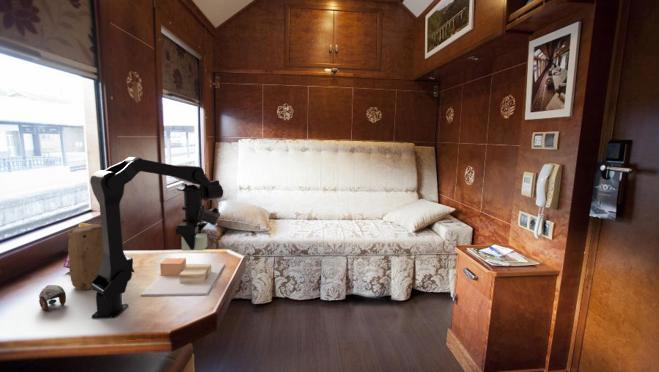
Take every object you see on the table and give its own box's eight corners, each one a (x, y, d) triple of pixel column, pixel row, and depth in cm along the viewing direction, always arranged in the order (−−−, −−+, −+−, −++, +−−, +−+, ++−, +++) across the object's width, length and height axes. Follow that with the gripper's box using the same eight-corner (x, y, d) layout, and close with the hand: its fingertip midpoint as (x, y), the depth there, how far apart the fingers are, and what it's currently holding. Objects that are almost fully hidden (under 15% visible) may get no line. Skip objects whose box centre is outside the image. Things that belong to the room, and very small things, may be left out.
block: (82, 293, 100) (76, 231, 97) (68, 288, 104) (63, 228, 101) (117, 280, 110) (113, 223, 107) (104, 275, 113) (99, 220, 110)
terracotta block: (181, 275, 114) (180, 263, 113) (160, 275, 113) (160, 263, 112) (186, 269, 119) (185, 258, 118) (166, 270, 118) (166, 258, 117)
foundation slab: (204, 282, 109) (203, 274, 108) (179, 283, 108) (179, 274, 108) (211, 271, 118) (211, 263, 117) (188, 272, 117) (188, 264, 116)
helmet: (61, 305, 96) (53, 283, 96) (75, 300, 92) (67, 277, 92) (37, 315, 90) (29, 292, 90) (51, 310, 87) (42, 286, 87)
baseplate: (207, 294, 102) (207, 293, 102) (140, 296, 100) (140, 294, 100) (224, 265, 125) (224, 263, 125) (171, 265, 123) (171, 264, 123)
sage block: (203, 250, 109) (202, 237, 108) (181, 250, 108) (181, 237, 108) (207, 245, 114) (207, 233, 113) (186, 245, 113) (186, 233, 113)
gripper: (210, 208, 100) (211, 256, 103) (224, 197, 119) (224, 238, 121) (173, 208, 99) (175, 256, 102) (192, 197, 118) (194, 238, 120)
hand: (194, 246), depth 111 cm, fingers closed on sage block, 5 cm apart
